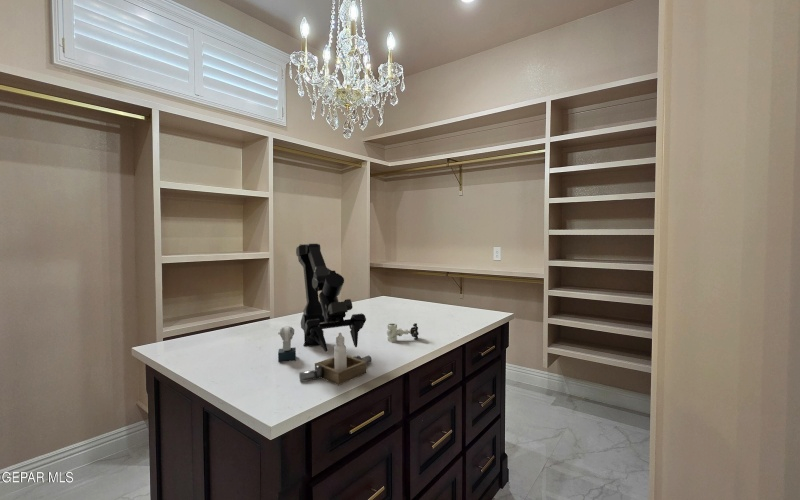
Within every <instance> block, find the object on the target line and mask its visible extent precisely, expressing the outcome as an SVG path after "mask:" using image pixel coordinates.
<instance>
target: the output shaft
mask: <svg viewBox="0 0 800 500" xmlns="http://www.w3.org/2000/svg"><path fill="white" fill-rule="evenodd" d="M298 377H299V378H298V379H299V382H304V381H311V380H316V379H323V378H322V377H323V371H322V366H321V365H318V366H315V365H314V369H313V370H308V371H302V372H301V371H300V372H299V376H298Z"/></svg>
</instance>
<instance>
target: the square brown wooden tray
mask: <svg viewBox="0 0 800 500" xmlns="http://www.w3.org/2000/svg"><path fill="white" fill-rule="evenodd" d="M354 357H355V356H351V355H347V368H345V369H343V370H340V371H337V370H335V368H334V356H333V357H330V358H327V359H324V360H321V361H318V362H315V363H314V367H315V366H318V365H321V366H322V371H323V377H322V378H321V379H323V380H326V381H327V382H330V383H332V384H335V385H337V386H340V385H343V384H344V383H347V382H349V381H352V380H354V379H356V378H359V377H361V376H363V375H365V374H367V373H368V372H367V365H368V364H367V362H366V361H363V360H360V359H357V358H354Z"/></svg>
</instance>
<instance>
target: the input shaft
mask: <svg viewBox="0 0 800 500" xmlns="http://www.w3.org/2000/svg"><path fill="white" fill-rule="evenodd" d="M353 357H354V358H357V359H360V360H363V361H366V362H367V365H368V364H371V363H372V360H373V359H372V356H370V355H369V354H368V355H365V356H363V357H362V356H360V355H356V356H353Z"/></svg>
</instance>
